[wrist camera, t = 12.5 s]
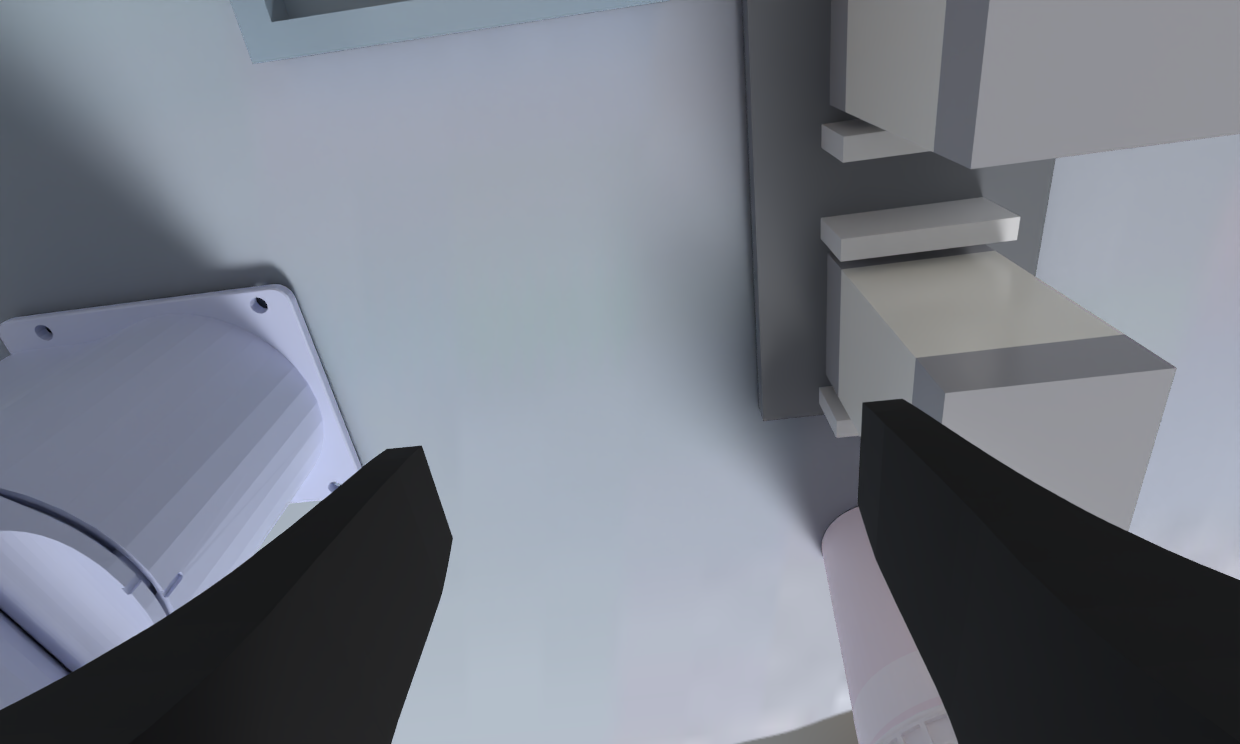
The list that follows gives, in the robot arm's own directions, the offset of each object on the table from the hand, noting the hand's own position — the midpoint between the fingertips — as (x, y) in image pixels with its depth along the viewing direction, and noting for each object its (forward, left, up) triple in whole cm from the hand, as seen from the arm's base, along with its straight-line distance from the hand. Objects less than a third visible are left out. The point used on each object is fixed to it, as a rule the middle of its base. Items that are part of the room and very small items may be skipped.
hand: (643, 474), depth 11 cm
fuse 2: (+8, -2, -10) cm, 12 cm away
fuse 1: (+8, +6, -10) cm, 14 cm away
